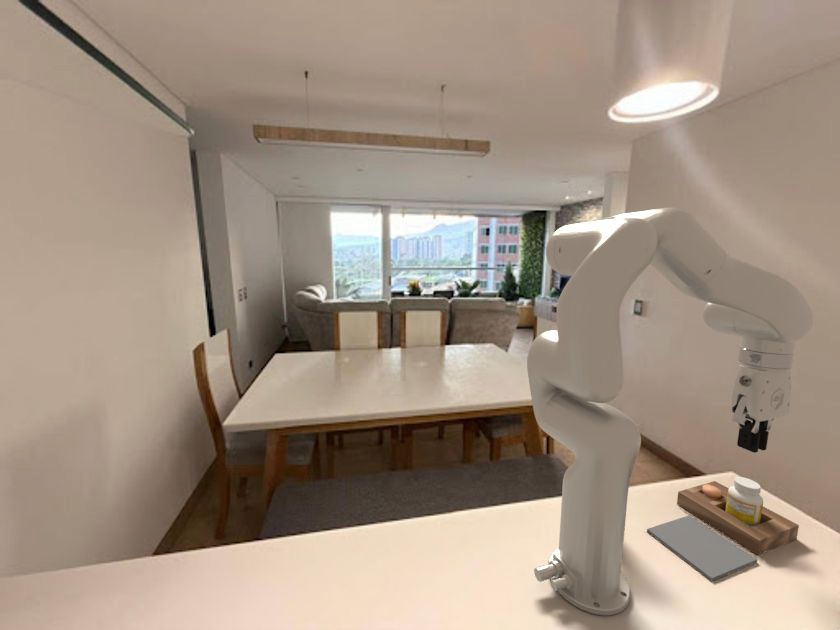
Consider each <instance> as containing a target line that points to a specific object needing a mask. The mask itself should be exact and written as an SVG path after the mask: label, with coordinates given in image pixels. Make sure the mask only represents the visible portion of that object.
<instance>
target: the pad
mask: <svg viewBox="0 0 840 630" xmlns="http://www.w3.org/2000/svg"><path fill="white" fill-rule="evenodd" d="M646 532H647V533H649V534H650V535H651V536H652V537H654V539H656V540H657V541H659V542H660V543H661V544H662V545H663V546H665V547H666V548H668V549H669V550H670V551H672V552H673V553H674V554H675V555H676V556H678V557H679V558H681V559H682V560H683V561H685V562H686V563H687V564H688V565H690V567H692V568H694V569H695V570H696V571H697V572H698V573H700V574H701V575H703V576H704V577H705V578H706V579H708V580H709V582H713V581H715V580H718V579H720V578H723V577H725V576H727V575H729V574H732V573H735V572H737V571H739V570H742V569H744V568H747V567H749V566H751V565H753V564H756V563H757V562H758V559H757V558H756V557H755V556H753V555H752V554H750V553H748V552H747V551H745V550H744V549H742V548H741V547H739V546H737V545H736V544H734V543H733V542H731V541H730V540H728V539H727V538H725V537H723V536H722V535H720V534H719V533H718V532H716V531H714V530H712V529H711V528H709V527H708V526H707V525H705V524H703V523H701V522H700V521H699V520H697V519H696V518H695V517H693V516H692V515H685V516H683V517H680V518H677V519H674V520H671V521H667V522H664V523H662V524H658V525H655V526H652V527H649V528H647V529H646Z"/></svg>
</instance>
